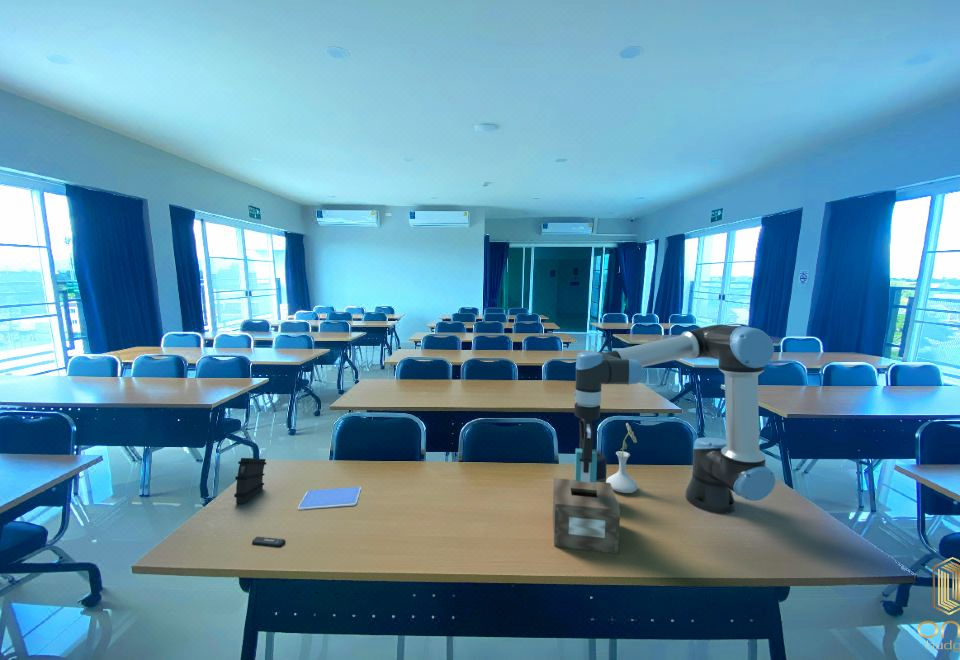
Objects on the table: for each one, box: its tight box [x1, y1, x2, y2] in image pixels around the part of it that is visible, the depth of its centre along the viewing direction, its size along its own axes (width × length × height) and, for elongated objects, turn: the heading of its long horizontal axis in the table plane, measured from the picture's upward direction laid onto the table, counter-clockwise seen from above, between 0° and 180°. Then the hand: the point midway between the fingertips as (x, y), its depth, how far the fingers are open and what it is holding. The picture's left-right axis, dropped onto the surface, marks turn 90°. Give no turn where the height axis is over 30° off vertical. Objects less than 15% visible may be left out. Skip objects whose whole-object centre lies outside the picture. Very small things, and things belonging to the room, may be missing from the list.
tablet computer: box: [297, 486, 362, 511], centre depth 135 cm, size 19×13×1 cm, turn 99°
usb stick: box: [251, 536, 286, 548], centre depth 110 cm, size 10×3×2 cm, turn 82°
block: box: [574, 447, 598, 483], centre depth 115 cm, size 6×3×9 cm, turn 81°
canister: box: [596, 451, 607, 483], centre depth 135 cm, size 10×10×18 cm
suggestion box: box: [552, 477, 621, 555], centre depth 116 cm, size 18×16×13 cm
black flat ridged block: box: [233, 457, 267, 505], centre depth 136 cm, size 4×13×15 cm, turn 179°
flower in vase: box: [606, 422, 638, 494], centre depth 144 cm, size 13×11×25 cm
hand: (584, 478), depth 115 cm, fingers closed on block, 3 cm apart
